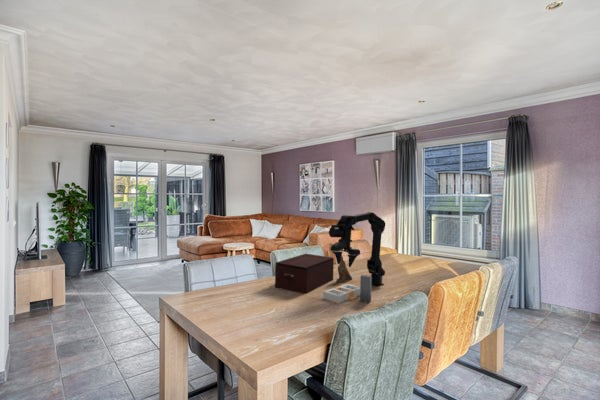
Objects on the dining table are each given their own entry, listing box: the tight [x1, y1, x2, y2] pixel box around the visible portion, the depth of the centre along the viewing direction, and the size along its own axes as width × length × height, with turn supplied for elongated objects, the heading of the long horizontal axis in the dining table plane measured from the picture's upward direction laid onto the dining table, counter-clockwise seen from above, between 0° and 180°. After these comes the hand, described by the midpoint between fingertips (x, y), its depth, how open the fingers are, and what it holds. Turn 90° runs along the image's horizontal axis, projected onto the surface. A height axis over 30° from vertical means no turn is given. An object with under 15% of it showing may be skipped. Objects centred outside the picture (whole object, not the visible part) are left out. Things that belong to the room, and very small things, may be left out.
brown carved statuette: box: [336, 256, 353, 284], centre depth 204 cm, size 12×6×18 cm, turn 131°
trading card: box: [313, 305, 353, 324], centre depth 149 cm, size 11×1×18 cm
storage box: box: [274, 253, 335, 295], centre depth 198 cm, size 39×23×15 cm, turn 148°
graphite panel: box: [359, 274, 372, 304], centre depth 166 cm, size 3×5×13 cm, turn 67°
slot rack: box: [322, 283, 360, 304], centre depth 174 cm, size 22×12×4 cm, turn 135°
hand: (343, 265), depth 182 cm, fingers open, 9 cm apart
